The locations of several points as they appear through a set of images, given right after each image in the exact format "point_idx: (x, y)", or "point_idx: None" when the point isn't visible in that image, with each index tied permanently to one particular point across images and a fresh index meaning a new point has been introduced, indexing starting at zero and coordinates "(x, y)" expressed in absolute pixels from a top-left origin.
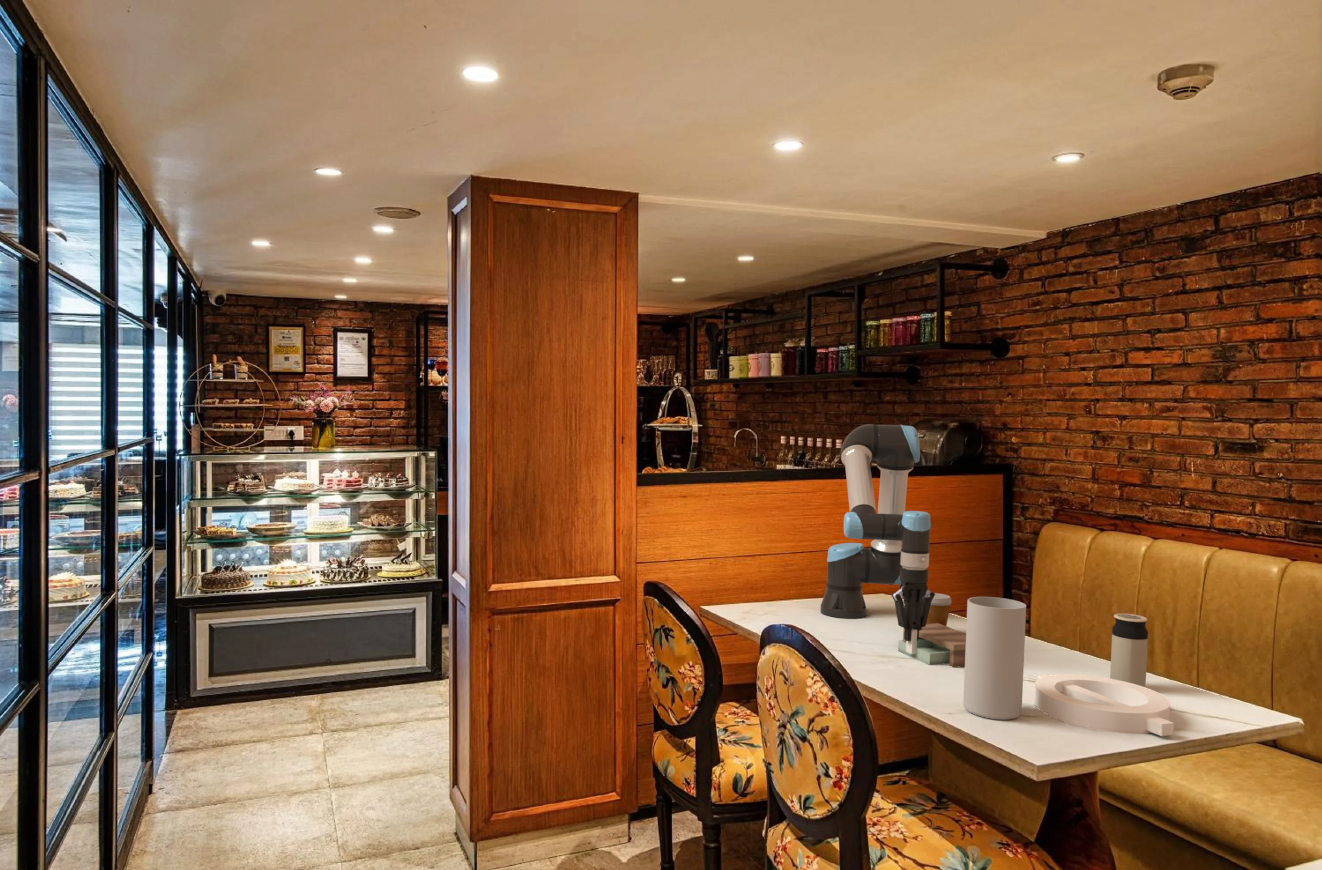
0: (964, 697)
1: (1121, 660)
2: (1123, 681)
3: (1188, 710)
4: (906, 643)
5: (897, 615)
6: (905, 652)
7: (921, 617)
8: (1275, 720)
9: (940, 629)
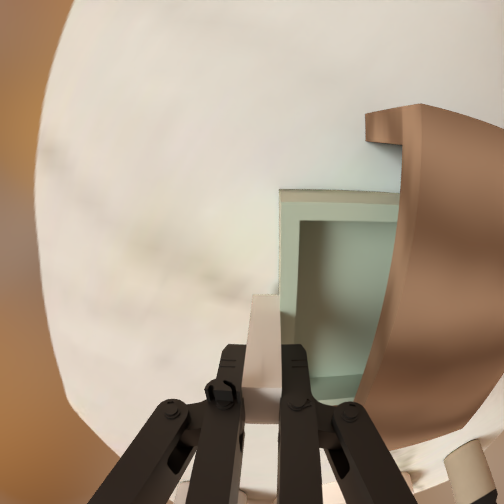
0: (176, 494)
1: (452, 487)
2: (413, 493)
3: (422, 482)
4: (250, 321)
5: (122, 463)
6: (279, 252)
7: (368, 455)
8: (445, 480)
9: None
